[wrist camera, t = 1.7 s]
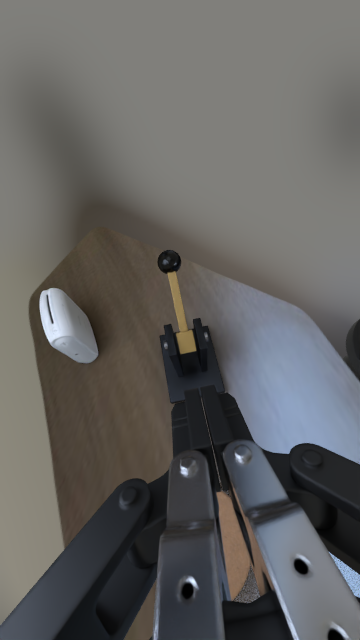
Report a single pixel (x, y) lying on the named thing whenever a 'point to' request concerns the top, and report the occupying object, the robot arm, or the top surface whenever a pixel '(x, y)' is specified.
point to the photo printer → (67, 326)
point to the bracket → (190, 363)
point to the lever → (177, 299)
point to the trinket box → (232, 546)
